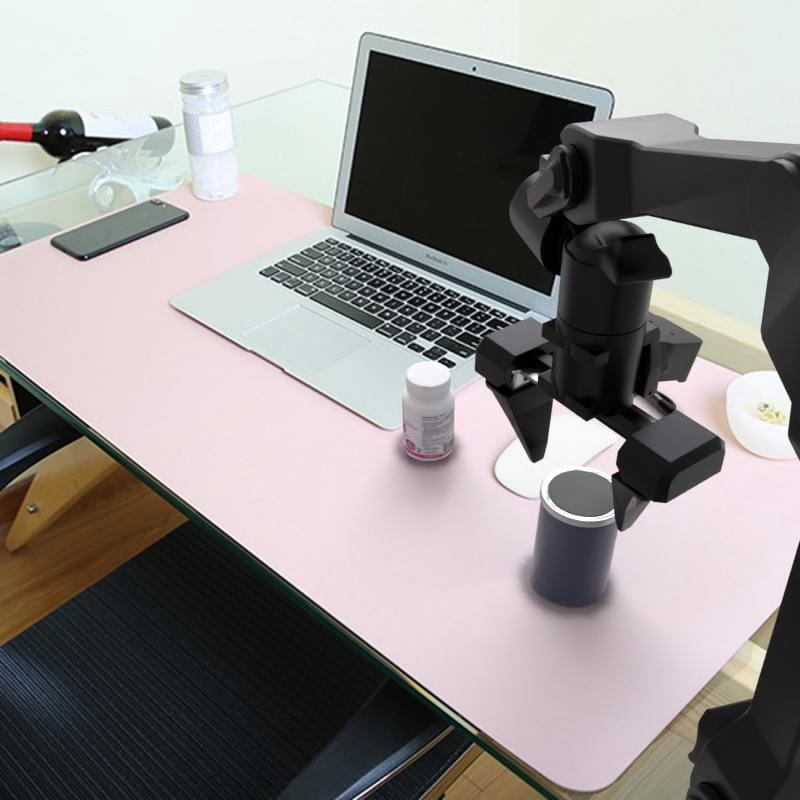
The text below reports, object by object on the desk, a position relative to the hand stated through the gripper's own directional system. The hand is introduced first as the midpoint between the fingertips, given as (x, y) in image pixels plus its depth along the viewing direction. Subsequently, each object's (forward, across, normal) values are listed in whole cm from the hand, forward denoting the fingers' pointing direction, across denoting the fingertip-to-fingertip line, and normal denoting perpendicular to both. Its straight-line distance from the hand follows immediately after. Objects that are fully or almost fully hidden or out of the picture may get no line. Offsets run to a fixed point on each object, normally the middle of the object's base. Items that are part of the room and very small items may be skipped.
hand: (578, 492), depth 70 cm
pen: (+9, +15, -24) cm, 30 cm away
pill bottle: (+10, +20, -1) cm, 22 cm away
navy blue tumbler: (+9, 0, 0) cm, 9 cm away
